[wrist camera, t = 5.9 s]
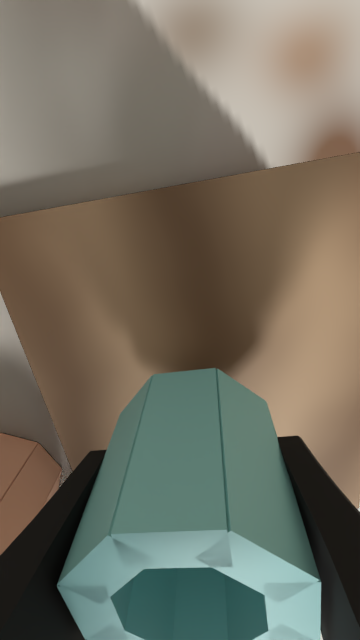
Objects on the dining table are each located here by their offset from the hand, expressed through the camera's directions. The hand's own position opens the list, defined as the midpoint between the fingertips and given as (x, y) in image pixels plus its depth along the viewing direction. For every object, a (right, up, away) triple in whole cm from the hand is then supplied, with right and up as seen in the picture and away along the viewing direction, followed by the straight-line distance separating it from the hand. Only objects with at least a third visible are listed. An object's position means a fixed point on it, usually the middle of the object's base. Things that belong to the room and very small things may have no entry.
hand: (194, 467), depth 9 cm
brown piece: (0, +2, +5) cm, 5 cm away
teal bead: (0, +1, +1) cm, 2 cm away
